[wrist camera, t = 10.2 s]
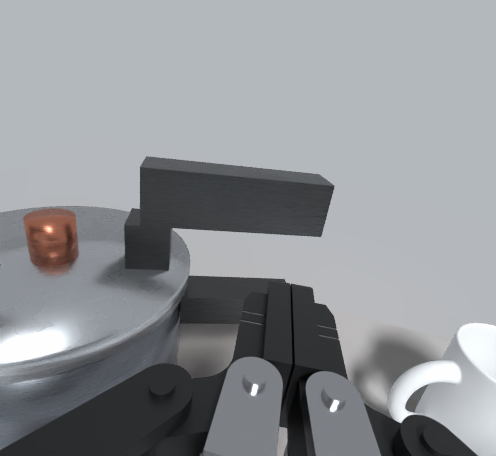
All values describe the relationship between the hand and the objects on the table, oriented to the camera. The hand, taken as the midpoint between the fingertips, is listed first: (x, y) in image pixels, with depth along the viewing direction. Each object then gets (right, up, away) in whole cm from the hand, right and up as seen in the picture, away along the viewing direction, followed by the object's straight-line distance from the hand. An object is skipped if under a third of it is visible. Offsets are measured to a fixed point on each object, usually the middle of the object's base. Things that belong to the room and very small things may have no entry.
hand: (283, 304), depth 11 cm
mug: (+15, -16, +16) cm, 27 cm away
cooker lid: (-11, -1, +13) cm, 17 cm away
